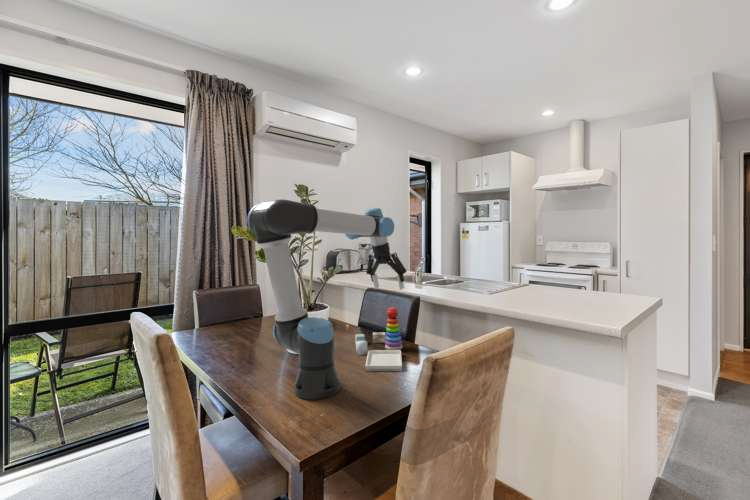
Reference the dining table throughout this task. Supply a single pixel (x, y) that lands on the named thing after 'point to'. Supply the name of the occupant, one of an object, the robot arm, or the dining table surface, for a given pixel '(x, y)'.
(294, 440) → the dining table surface
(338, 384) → the robot arm
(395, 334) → the stacking toy
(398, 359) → the cream tray
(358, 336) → the teal cube
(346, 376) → the dining table surface
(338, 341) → the dining table surface
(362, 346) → the light grey cube
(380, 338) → the birch brick
